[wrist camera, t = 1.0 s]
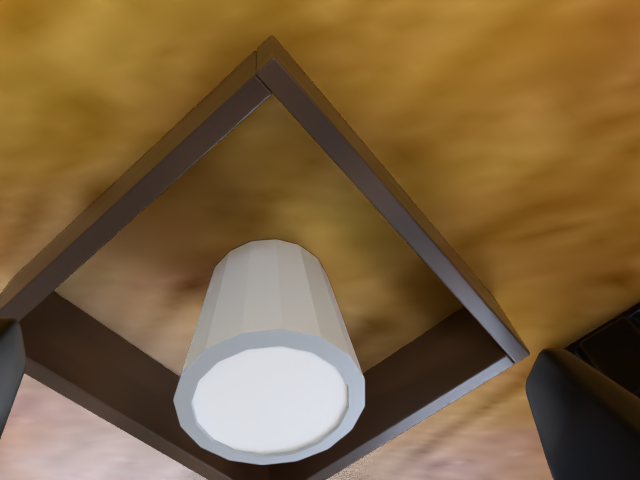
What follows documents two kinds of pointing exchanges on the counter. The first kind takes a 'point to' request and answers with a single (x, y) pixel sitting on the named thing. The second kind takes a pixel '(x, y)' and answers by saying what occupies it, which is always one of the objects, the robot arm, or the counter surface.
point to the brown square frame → (161, 384)
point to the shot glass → (269, 360)
